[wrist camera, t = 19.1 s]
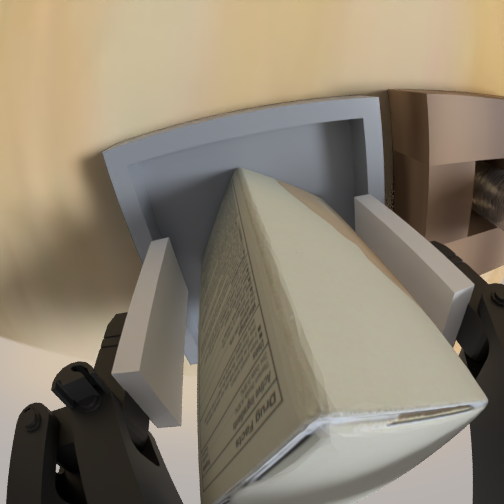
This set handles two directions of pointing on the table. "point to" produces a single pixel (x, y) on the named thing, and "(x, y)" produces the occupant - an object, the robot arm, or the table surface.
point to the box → (313, 358)
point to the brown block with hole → (447, 168)
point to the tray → (248, 157)
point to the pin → (489, 193)
